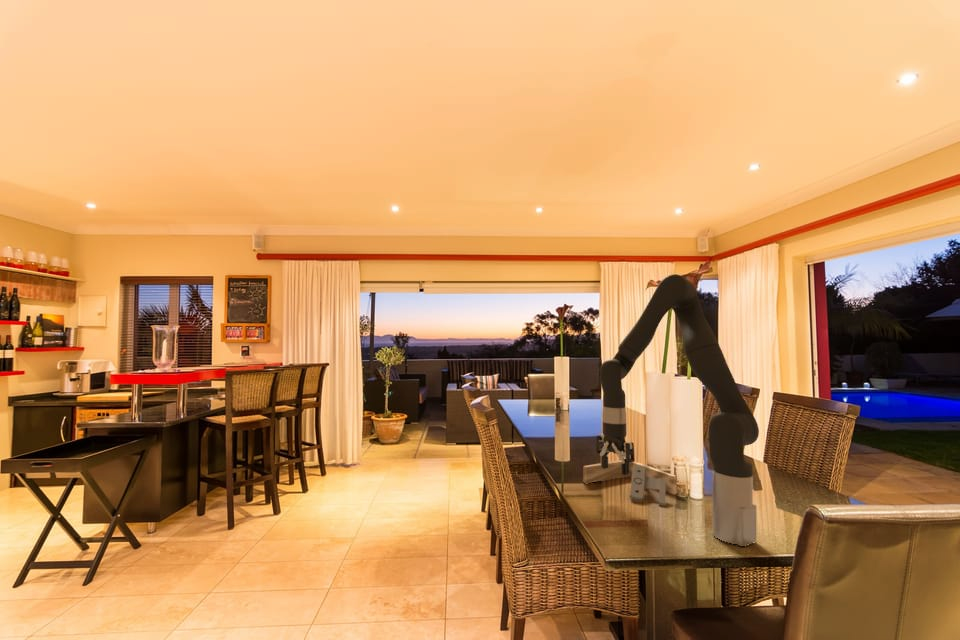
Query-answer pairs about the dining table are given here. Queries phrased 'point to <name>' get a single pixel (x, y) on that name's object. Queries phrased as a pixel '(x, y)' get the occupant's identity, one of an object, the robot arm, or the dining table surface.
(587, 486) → the dining table surface
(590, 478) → the wooden corner joint
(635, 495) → the bracket
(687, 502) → the dining table surface
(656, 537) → the dining table surface
